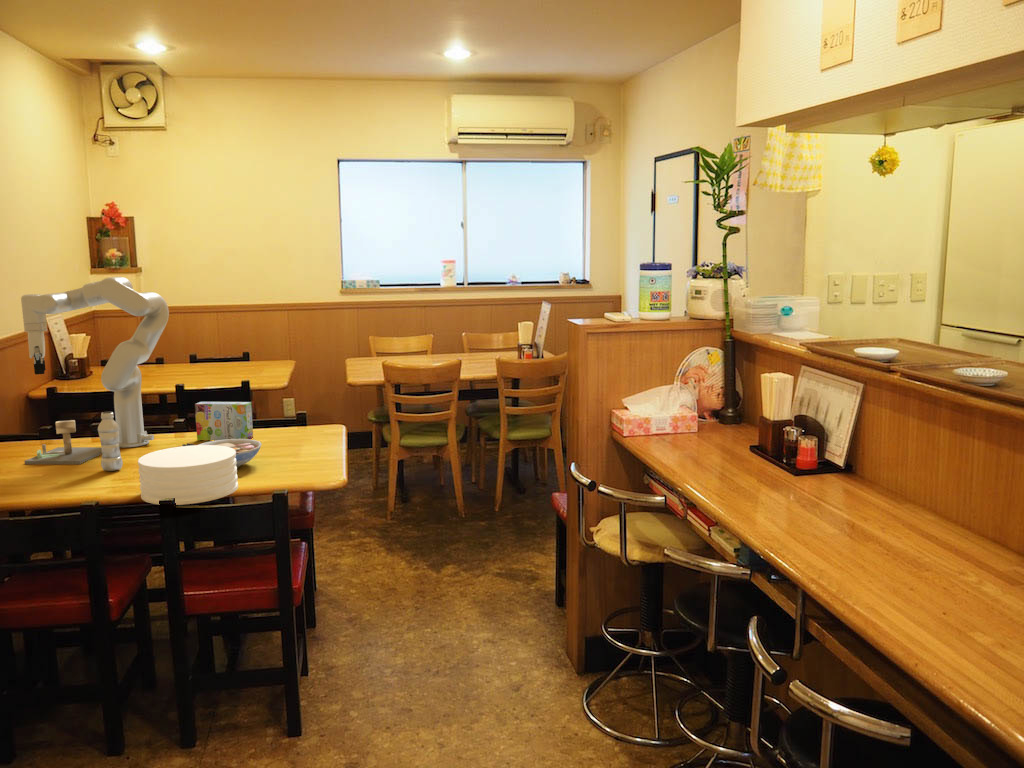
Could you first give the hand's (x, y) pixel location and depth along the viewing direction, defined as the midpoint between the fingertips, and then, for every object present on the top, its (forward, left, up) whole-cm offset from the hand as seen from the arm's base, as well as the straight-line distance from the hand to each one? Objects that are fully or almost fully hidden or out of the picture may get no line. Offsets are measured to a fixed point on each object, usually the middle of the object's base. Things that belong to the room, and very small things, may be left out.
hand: (40, 372), depth 318 cm
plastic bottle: (-45, +36, -28) cm, 64 cm away
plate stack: (-82, +59, -29) cm, 106 cm away
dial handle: (-17, +19, -27) cm, 37 cm away
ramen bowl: (-83, +31, -28) cm, 93 cm away
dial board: (-19, +18, -28) cm, 39 cm away
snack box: (-66, -9, -29) cm, 73 cm away
